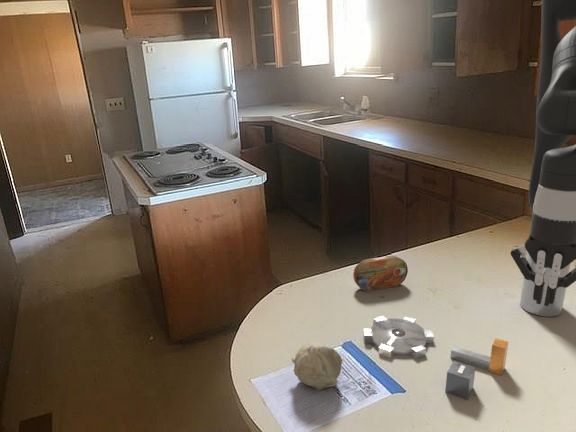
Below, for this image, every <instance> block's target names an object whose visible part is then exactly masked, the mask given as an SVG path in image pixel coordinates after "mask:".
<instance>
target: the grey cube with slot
mask: <svg viewBox="0 0 576 432" xmlns="http://www.w3.org/2000/svg"><path fill="white" fill-rule="evenodd" d="M475 374H476V366H473V365H470V364H469V365H468V364H467V363H462V362H458V361H457V360H453V361H452V362H451V365H450V366H449V368H448V370H447V372H446V379H445V381H446V382H445V388H444V389H445V391H444V392H445V393H446V394H449V395H452V396H453V397H454V396H455V397H458V398H461V399H464V400H466V401H468V399H469V397H470V396H471V393H472V391H473V389H474V381H475V377H476V376H475Z"/></svg>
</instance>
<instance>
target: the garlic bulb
mask: <svg viewBox="0 0 576 432" xmlns="http://www.w3.org/2000/svg"><path fill="white" fill-rule="evenodd" d="M291 362H292V364H294V368H293V372H294V375H295V376H296V377H297V379H298V380H299V382H301V383H304V384H305V385H307V386H310V387H311V388H313V389H316V390H318V391H321V390H323V389H326V388H330V387H334V386H336V385H337V384H338V380H337V379H338V377H339V376H340V374H341V372H342V363H343V359H342V356H341V354H340V353H339V352H338V351H337V350H335V349H334V348H333V347H331V346H327V345H325V344H324V343H322V342H318V341H311V342H307V343H305V344H302V345H301V347H300V348H299V350H298V351H297V353H296V355H295V358H294V357H292V358H291Z"/></svg>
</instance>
